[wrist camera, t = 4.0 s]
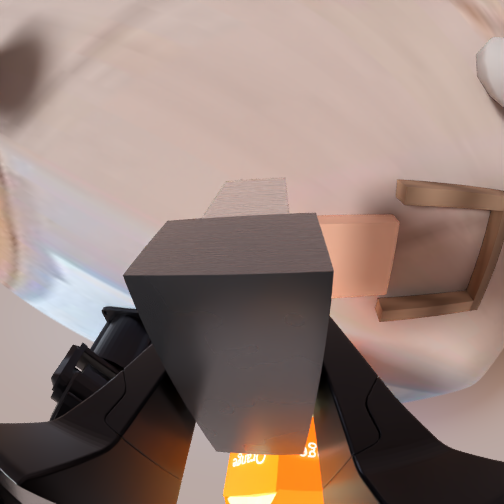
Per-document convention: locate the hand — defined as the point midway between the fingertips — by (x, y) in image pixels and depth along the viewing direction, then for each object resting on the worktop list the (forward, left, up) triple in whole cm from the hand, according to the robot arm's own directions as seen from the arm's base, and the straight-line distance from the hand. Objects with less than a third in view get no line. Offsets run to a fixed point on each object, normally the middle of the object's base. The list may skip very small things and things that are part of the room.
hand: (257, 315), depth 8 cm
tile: (+6, -4, -11) cm, 13 cm away
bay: (+14, -4, -11) cm, 18 cm away
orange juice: (+2, -16, -11) cm, 20 cm away
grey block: (0, 0, -3) cm, 3 cm away
